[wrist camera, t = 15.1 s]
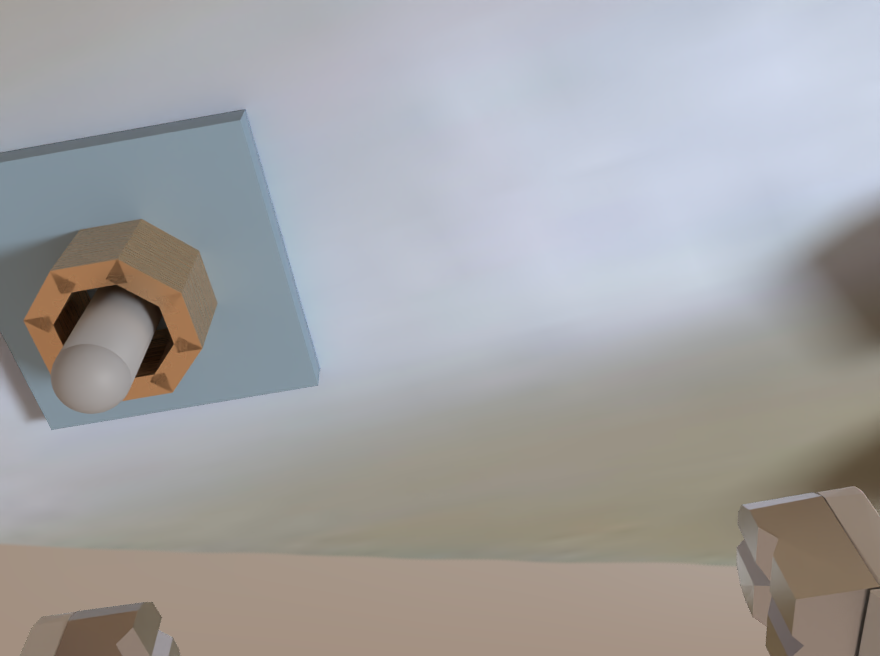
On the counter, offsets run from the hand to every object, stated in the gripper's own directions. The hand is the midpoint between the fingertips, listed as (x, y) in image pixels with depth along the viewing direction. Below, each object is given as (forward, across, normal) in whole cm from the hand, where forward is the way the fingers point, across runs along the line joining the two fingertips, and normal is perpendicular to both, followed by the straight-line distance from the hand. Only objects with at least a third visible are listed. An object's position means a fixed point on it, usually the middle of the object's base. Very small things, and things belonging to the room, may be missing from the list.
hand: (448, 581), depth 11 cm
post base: (+28, +14, +8) cm, 33 cm away
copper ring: (+27, +14, +8) cm, 31 cm away
